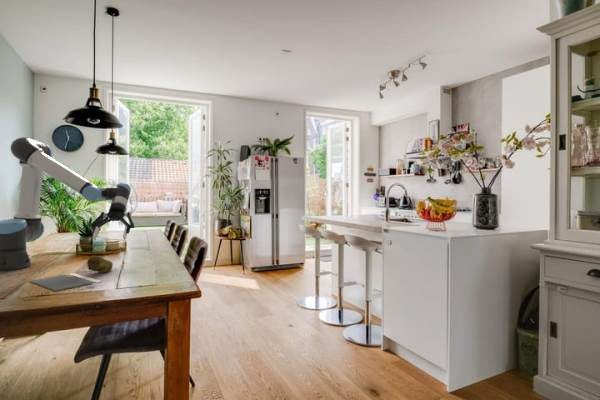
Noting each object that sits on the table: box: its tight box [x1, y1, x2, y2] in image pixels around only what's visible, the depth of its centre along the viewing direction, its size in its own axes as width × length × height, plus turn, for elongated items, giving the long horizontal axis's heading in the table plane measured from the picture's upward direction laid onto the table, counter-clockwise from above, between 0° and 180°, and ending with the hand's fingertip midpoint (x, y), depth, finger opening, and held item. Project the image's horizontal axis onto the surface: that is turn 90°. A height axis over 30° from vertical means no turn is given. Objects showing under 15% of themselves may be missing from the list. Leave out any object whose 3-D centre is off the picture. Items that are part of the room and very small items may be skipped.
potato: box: [86, 256, 114, 273], centre depth 161 cm, size 8×13×8 cm, turn 152°
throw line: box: [68, 272, 103, 284], centre depth 151 cm, size 24×2×1 cm, turn 57°
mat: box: [29, 274, 93, 292], centre depth 143 cm, size 24×13×1 cm, turn 57°
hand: (109, 238), depth 171 cm, fingers open, 13 cm apart
